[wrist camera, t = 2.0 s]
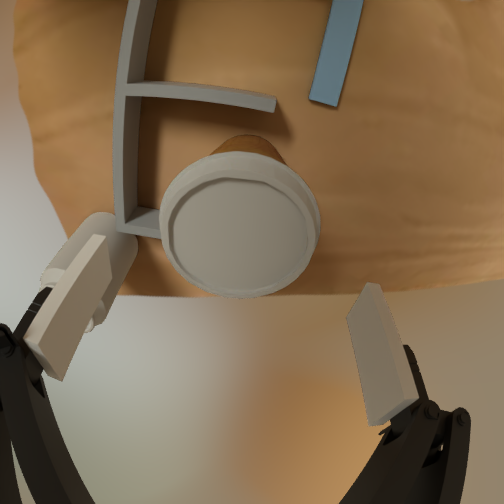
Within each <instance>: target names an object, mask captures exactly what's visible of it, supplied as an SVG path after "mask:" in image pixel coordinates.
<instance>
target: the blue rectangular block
mask: <svg viewBox="0 0 504 504" xmlns="http://www.w3.org/2000/svg"><path fill="white" fill-rule="evenodd" d="M363 1H364V0H333V1H332V6H331V10H330V14H329V18H328V22H327V26H326V30H325V35H324V39H323V43H322V47H321V51H320V55H319V59H318V63H317V67H316V71H315V75H314V78H313V82H312V86H311V90H310V94H309V99H311V100H315V101H318V102H322V103H325V104H329V105H332V106H335V107H337V103H338V99H339V96H340V92H341V89H342V85H343V81H344V77H345V74H346V70H347V66H348V62H349V58H350V55H351V51H352V47H353V43H354V39H355V35H356V31H357V26H358V22H359V18H360V14H361V9H362V5H363Z"/></svg>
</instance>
